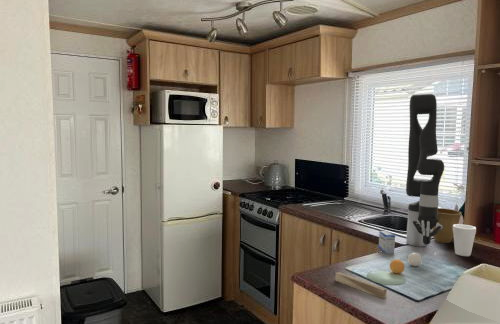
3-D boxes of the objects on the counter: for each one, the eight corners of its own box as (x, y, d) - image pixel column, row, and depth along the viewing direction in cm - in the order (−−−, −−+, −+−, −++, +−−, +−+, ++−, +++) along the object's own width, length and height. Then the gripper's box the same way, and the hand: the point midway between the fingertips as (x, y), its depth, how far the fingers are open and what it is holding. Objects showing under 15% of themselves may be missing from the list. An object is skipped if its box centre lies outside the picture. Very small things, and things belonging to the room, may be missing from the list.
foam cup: (469, 258, 174) (471, 230, 173) (448, 253, 181) (449, 226, 180) (477, 254, 180) (479, 226, 179) (456, 249, 187) (457, 223, 186)
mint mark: (361, 271, 156) (361, 271, 156) (395, 271, 157) (395, 270, 157) (375, 285, 142) (375, 284, 142) (412, 284, 143) (412, 284, 143)
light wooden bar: (338, 279, 147) (339, 271, 147) (386, 297, 132) (386, 288, 132) (335, 280, 146) (335, 272, 146) (383, 298, 131) (383, 290, 130)
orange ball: (387, 270, 157) (387, 257, 157) (400, 270, 158) (400, 257, 157) (393, 275, 152) (393, 262, 151) (406, 275, 152) (407, 262, 152)
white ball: (405, 263, 166) (405, 251, 166) (417, 263, 167) (418, 250, 166) (411, 268, 161) (412, 255, 160) (424, 268, 161) (424, 255, 161)
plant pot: (442, 246, 193) (443, 214, 191) (421, 238, 207) (422, 208, 206) (466, 244, 196) (468, 213, 195) (444, 236, 211) (446, 207, 209)
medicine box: (378, 248, 188) (379, 230, 187) (387, 248, 188) (387, 230, 187) (385, 253, 180) (386, 235, 179) (394, 253, 180) (395, 235, 180)
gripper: (409, 203, 171) (407, 242, 172) (439, 208, 160) (437, 249, 162) (418, 202, 175) (416, 239, 177) (448, 206, 165) (446, 246, 166)
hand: (426, 244), depth 169 cm, fingers closed
